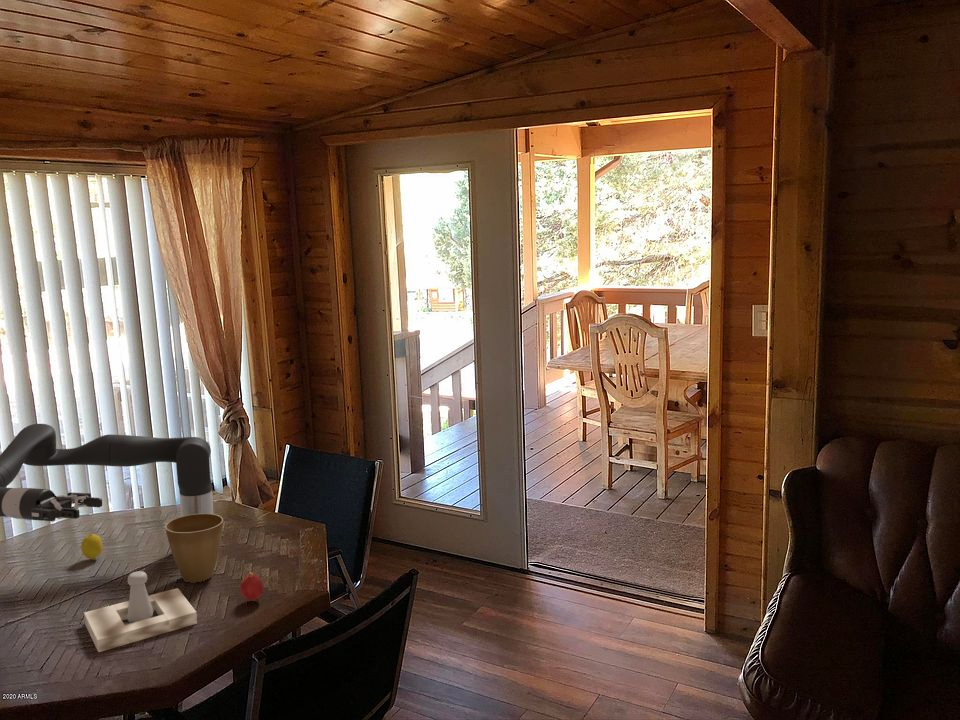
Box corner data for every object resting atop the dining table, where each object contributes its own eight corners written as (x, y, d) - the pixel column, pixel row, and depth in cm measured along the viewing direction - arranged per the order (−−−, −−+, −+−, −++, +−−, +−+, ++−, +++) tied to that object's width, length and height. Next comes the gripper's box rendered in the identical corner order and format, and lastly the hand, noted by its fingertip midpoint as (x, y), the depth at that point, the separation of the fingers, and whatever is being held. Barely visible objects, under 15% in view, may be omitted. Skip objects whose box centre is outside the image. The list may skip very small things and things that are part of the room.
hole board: (178, 598, 199) (177, 587, 199) (197, 623, 187) (196, 611, 186) (85, 624, 186) (84, 612, 186) (98, 652, 174) (97, 640, 173)
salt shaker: (159, 620, 188) (155, 570, 186) (141, 631, 183) (137, 580, 181) (140, 616, 190) (136, 567, 188) (122, 627, 185) (118, 576, 183)
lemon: (94, 564, 220) (92, 538, 219) (78, 562, 221) (75, 536, 220) (107, 556, 226) (105, 530, 224) (91, 555, 227) (89, 529, 225)
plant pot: (236, 576, 212) (233, 521, 210) (184, 594, 202) (181, 537, 199) (209, 561, 222) (206, 508, 220) (159, 577, 212) (155, 522, 209)
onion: (243, 596, 201) (242, 567, 199) (266, 595, 201) (264, 567, 200) (238, 607, 195) (237, 577, 194) (261, 606, 195) (260, 576, 194)
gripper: (6, 497, 179) (69, 502, 177) (48, 480, 193) (108, 484, 191) (8, 528, 180) (71, 533, 178) (50, 509, 194) (109, 513, 192)
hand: (90, 508), depth 184 cm, fingers open, 8 cm apart
